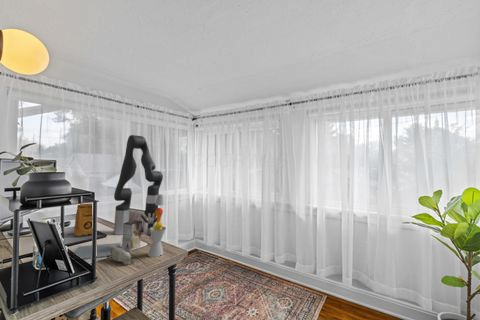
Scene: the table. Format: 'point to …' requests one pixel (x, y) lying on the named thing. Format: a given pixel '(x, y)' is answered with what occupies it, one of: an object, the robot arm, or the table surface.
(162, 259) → the table surface
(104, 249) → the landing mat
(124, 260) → the decorative bird
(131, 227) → the coffee box
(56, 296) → the table surface
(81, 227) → the coffee package
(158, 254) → the lava lamp
